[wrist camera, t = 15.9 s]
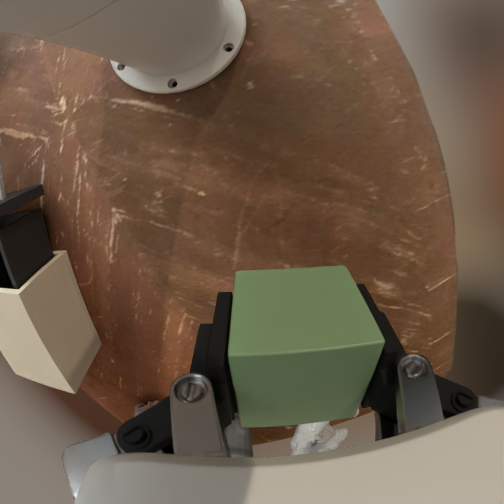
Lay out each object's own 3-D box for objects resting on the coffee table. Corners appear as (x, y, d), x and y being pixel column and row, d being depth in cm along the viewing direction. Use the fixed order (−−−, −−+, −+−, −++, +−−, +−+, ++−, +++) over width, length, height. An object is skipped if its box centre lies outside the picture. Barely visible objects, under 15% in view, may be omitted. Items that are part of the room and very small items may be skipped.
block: (235, 270, 11) (227, 355, 7) (345, 264, 11) (386, 341, 7) (243, 348, 13) (241, 428, 9) (333, 342, 13) (354, 417, 9)
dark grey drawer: (-15, 150, 20) (-57, 165, 13) (35, 125, 20) (-16, 135, 13) (19, 288, 29) (-11, 319, 22) (72, 291, 29) (39, 330, 22)
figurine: (365, 376, 36) (397, 481, 19) (289, 406, 39) (297, 509, 22) (322, 295, 29) (369, 448, 13) (224, 340, 32) (207, 482, 16)
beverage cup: (221, 423, 41) (213, 525, 23) (204, 402, 38) (189, 518, 20) (262, 418, 40) (263, 526, 22) (249, 396, 37) (246, 521, 19)
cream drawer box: (9, 253, 27) (-33, 287, 19) (66, 249, 27) (18, 294, 18) (44, 334, 34) (16, 374, 25) (102, 343, 33) (75, 394, 25)
